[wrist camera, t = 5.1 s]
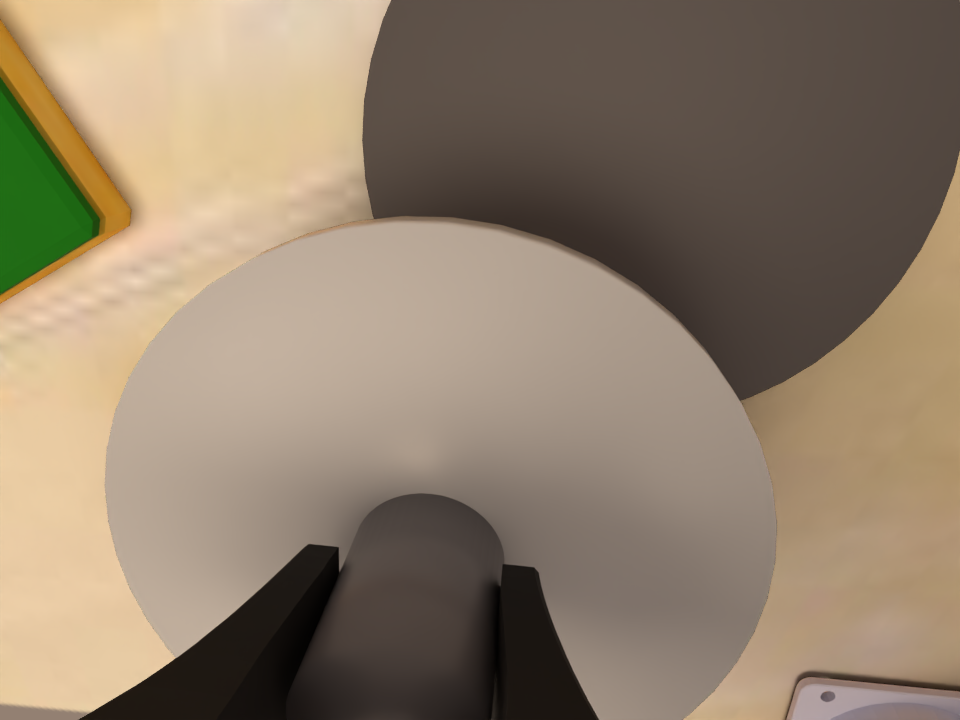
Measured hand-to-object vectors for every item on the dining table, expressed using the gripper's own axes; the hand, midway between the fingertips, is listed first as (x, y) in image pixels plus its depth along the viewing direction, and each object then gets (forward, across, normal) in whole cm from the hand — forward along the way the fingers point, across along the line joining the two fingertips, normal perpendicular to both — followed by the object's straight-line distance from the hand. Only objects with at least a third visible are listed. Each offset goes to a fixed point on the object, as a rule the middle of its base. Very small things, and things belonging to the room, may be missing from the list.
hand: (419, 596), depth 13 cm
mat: (+9, -5, -8) cm, 13 cm away
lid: (+2, 0, 0) cm, 2 cm away
